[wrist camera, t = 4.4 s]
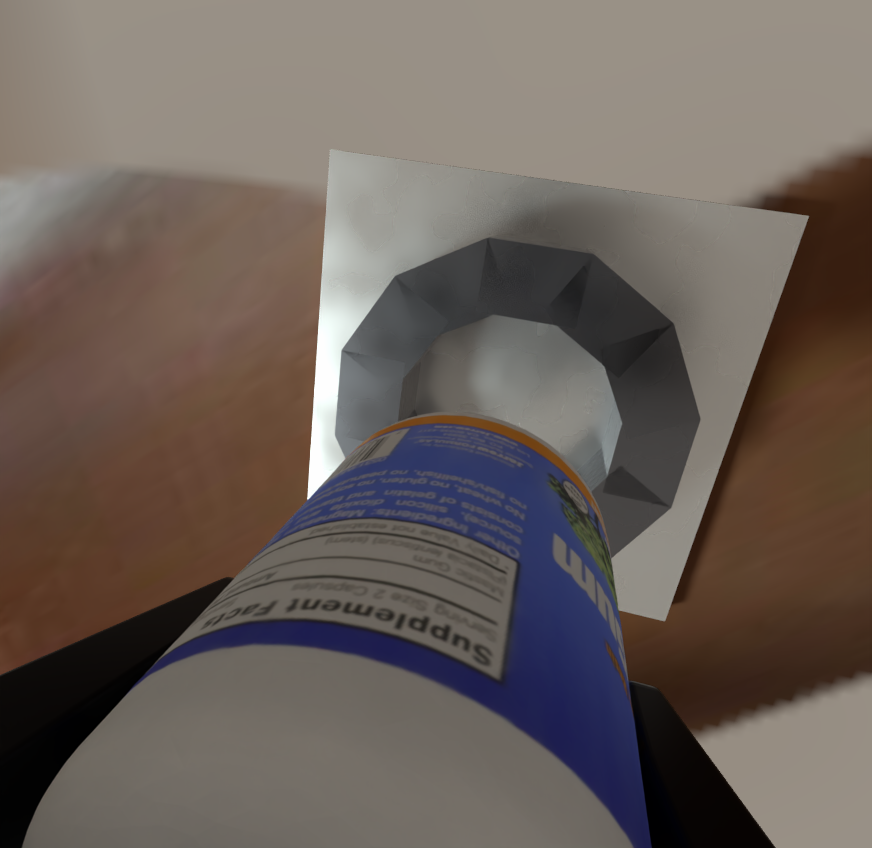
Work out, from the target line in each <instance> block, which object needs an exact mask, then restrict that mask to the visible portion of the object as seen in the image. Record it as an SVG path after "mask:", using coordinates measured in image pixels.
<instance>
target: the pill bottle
mask: <svg viewBox="0 0 872 848" xmlns="http://www.w3.org/2000/svg"><path fill="white" fill-rule="evenodd" d="M22 848H652V847H651V840H650V832H649V825H648V818H647V811H646V804H645V796H644V789H643V782H642V775H641V767H640V760H639V752H638V744H637V737H636V729H635V722H634V716H633V710H632V704H631V697H630V689H629V681H628V674H627V667H626V659H625V652H624V646H623V638H622V630H621V623H620V617H619V610H618V602H617V594H616V589H615V582H614V575H613V568H612V561H611V553H610V547H609V541H608V537H607V533H606V529H605V525H604V522H603V518H602V515H601V513H600V510H599V507H598V505H597V502H596V501H595V499H594V497H593V495H592V493H591V491H590V489H589V487H588V486H587V484H586V483H585V481H584V480H583V479H582V477H581V476H580V474H579V473H578V472H577V471H576V470H575V468H574V467H573V466H572V465H571V464H570V463H569V461H568V460H567V459H566V458H565V457H564V456H563V455H562V454H560V453H559V452H558V451H557V450H556V449H554V448H553V447H552V446H551V445H550V444H548V443H547V442H545V441H544V440H542V439H541V438H539V437H537V436H535V435H534V434H532V433H530V432H529V431H527V430H525V429H523V428H520V427H518V426H516V425H513V424H511V423H508V422H505V421H503V420H500V419H496V418H493V417H489V416H484V415H480V414H473V413H466V412H436V413H429V414H423V415H419V416H415V417H410V418H407V419H405V420H402V421H399V422H396V423H394V424H392V425H390V426H388V427H386V428H384V429H382V430H380V431H378V432H377V433H375V434H373V435H372V436H371V437H369V438H368V439H367V440H365V441H364V442H363V443H362V444H360V445H359V446H358V447H357V448H356V449H355V450H354V451H353V452H352V453H351V454H350V455H349V456H348V457H347V458H346V459H345V460H344V461H343V462H342V463H341V464H340V465H339V466H338V468H337V469H336V470H335V471H334V472H333V473H332V474H331V475H330V476H329V477H328V478H327V480H326V481H325V482H324V483H323V484H322V485H321V486H320V487H319V488H318V489H317V491H316V492H315V493H314V494H313V495H312V496H311V497H310V498H309V499H308V500H307V502H306V503H305V504H304V505H303V506H302V507H301V508H300V509H299V510H298V511H297V512H296V513H295V514H294V515H293V517H292V518H291V519H290V520H289V521H288V522H287V523H286V524H285V525H284V526H283V527H282V528H281V529H280V530H279V532H278V533H277V534H276V535H275V536H274V537H273V538H272V539H271V540H270V542H269V543H268V544H267V545H266V546H265V547H264V548H263V549H262V550H261V551H260V552H259V553H258V554H257V555H256V556H255V557H254V558H253V559H252V560H251V561H250V562H249V564H248V565H247V566H246V567H245V568H244V569H243V570H242V571H241V572H240V573H239V574H238V575H237V576H236V577H235V578H234V579H233V580H232V581H231V583H230V584H229V585H228V586H227V587H226V588H225V589H224V590H223V591H222V592H221V593H220V594H219V596H218V597H217V598H216V599H215V600H214V601H213V602H212V603H211V604H210V605H209V606H208V607H207V608H206V609H205V610H204V612H203V613H202V614H201V615H200V616H199V617H198V618H197V619H196V620H195V621H194V622H193V623H192V624H191V625H190V626H189V627H188V629H187V630H186V631H185V632H184V633H183V634H182V635H181V636H180V637H179V638H178V639H177V640H176V641H175V642H174V643H173V644H172V646H171V647H170V648H169V649H168V650H167V651H166V652H165V653H164V654H163V655H162V656H161V657H160V658H159V660H158V661H157V662H156V663H155V664H154V665H153V666H152V667H151V668H150V669H149V670H148V671H147V672H146V674H145V675H144V676H143V677H142V678H141V679H140V680H139V681H138V682H137V683H136V684H135V685H134V686H133V687H132V688H131V689H130V691H129V692H128V693H127V694H126V695H125V696H124V698H123V699H122V700H121V701H120V702H119V703H118V705H117V706H116V707H115V708H114V709H113V710H112V711H111V712H110V713H109V714H108V715H107V716H106V718H105V719H104V720H103V721H102V722H101V723H100V724H99V725H98V726H97V727H96V728H95V729H94V731H93V732H92V733H91V734H90V735H89V736H88V737H87V738H86V739H85V740H84V741H83V742H82V744H81V745H80V746H79V747H78V748H77V749H76V750H75V752H74V753H73V754H72V755H71V757H70V758H69V759H68V760H67V761H66V763H65V764H64V766H63V767H62V768H61V770H60V771H59V773H58V774H57V775H56V777H55V778H54V780H53V781H52V783H51V784H50V786H49V787H48V789H47V791H46V792H45V794H44V796H43V798H42V799H41V801H40V803H39V805H38V807H37V809H36V811H35V813H34V816H33V818H32V820H31V823H30V825H29V827H28V830H27V833H26V836H25V839H24V842H23V845H22Z"/></svg>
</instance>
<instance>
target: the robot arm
mask: <svg viewBox="0 0 872 848" xmlns="http://www.w3.org/2000/svg"><path fill="white" fill-rule="evenodd" d="M233 579H234V578H231V577H226V578H223V579H220V580H218V581H216V582H213V583H211V584H209V585H207V586H204V587H202V588H200V589H197V590H195V591H193V592H190V593H188V594H186V595H183V596H181V597H179V598H177V599H174V600H172V601H170V602H167V603H165V604H163V605H160V606H158V607H156V608H154V609H151V610H149V611H147V612H144V613H142V614H140V615H137V616H135V617H133V618H131V619H128V620H126V621H124V622H121V623H119V624H117V625H114V626H112V627H110V628H108V629H105V630H103V631H101V632H98V633H96V634H94V635H91V636H89V637H87V638H84V639H82V640H80V641H78V642H75V643H73V644H71V645H68V646H66V647H64V648H61V649H59V650H57V651H55V652H52V653H50V654H48V655H45V656H43V657H41V658H38V659H36V660H34V661H32V662H29V663H27V664H25V665H22V666H20V667H18V668H15V669H13V670H11V671H9V672H6V673H4V674H2V675H0V848H22V845H23V842H24V839H25V836H26V833H27V830H28V827H29V825H30V823H31V820H32V818H33V816H34V813H35V811H36V809H37V807H38V805H39V803H40V801H41V799H42V798H43V796H44V794H45V792H46V791H47V789H48V787H49V786H50V784H51V783H52V781H53V780H54V778H55V777H56V775H57V774H58V773H59V771H60V770H61V768H62V767H63V766H64V764H65V763H66V761H67V760H68V759H69V758H70V757H71V755H72V754H73V753H74V752H75V750H76V749H77V748H78V747H79V746H80V745H81V744H82V742H83V741H84V740H85V739H86V738H87V737H88V736H89V735H90V734H91V733H92V732H93V731H94V729H95V728H96V727H97V726H98V725H99V724H100V723H101V722H102V721H103V720H104V719H105V718H106V716H107V715H108V714H109V713H110V712H111V711H112V710H113V709H114V708H115V707H116V706H117V705H118V703H119V702H120V701H121V700H122V699H123V698H124V696H125V695H126V694H127V693H128V692H129V691H130V689H131V688H132V687H133V686H134V685H135V684H136V683H137V682H138V681H139V680H140V679H141V678H142V677H143V676H144V675H145V674H146V672H147V671H148V670H149V669H150V668H151V667H152V666H153V665H154V664H155V663H156V662H157V661H158V660H159V658H160V657H161V656H162V655H163V654H164V653H165V652H166V651H167V650H168V649H169V648H170V647H171V646H172V644H173V643H174V642H175V641H176V640H177V639H178V638H179V637H180V636H181V635H182V634H183V633H184V632H185V631H186V630H187V629H188V627H189V626H190V625H191V624H192V623H193V622H194V621H195V620H196V619H197V618H198V617H199V616H200V615H201V614H202V613H203V612H204V610H205V609H206V608H207V607H208V606H209V605H210V604H211V603H212V602H213V601H214V600H215V599H216V598H217V597H218V596H219V594H220V593H221V592H222V591H223V590H224V589H225V588H226V587H227V586H228V585H229V584H230V583H231V581H232V580H233ZM629 689H630V697H631V704H632V710H633V716H634V722H635V729H636V737H637V744H638V752H639V760H640V767H641V775H642V782H643V789H644V796H645V804H646V811H647V818H648V825H649V832H650V840H651V847H652V848H775V846H774V845H773V844H772V842H771V841H770V840H769V838H768V837H767V835H766V834H765V833H764V831H763V830H762V829H761V827H760V826H759V824H758V823H757V822H756V821H755V819H754V818H753V816H752V815H751V814H750V812H749V811H748V809H747V808H746V807H745V805H744V804H743V803H742V801H741V800H740V799H739V797H738V796H737V794H736V793H735V792H734V791H733V789H732V788H731V786H730V785H729V784H728V782H727V781H726V779H725V778H724V777H723V775H722V774H721V773H720V771H719V770H718V769H717V767H716V766H715V764H714V763H713V762H712V760H711V759H710V758H709V756H708V755H707V754H706V752H705V751H704V749H703V748H702V747H701V745H700V744H699V743H698V741H697V740H696V739H695V737H694V736H693V734H692V733H691V732H690V730H689V729H688V728H687V726H686V725H685V724H684V722H683V721H682V719H681V718H680V717H679V715H678V714H677V713H676V711H675V710H674V709H673V707H672V706H671V704H670V703H669V702H668V700H667V699H666V698H665V696H664V695H663V694H662V692H661V691H660V690H659V689H658V688H656V687H654V686H650V685H646V684H642V683H638V682H635V681H629Z"/></svg>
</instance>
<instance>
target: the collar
mask: <svg viewBox="0 0 872 848" xmlns="http://www.w3.org/2000/svg"><path fill="white" fill-rule="evenodd" d="M808 218H809V216H806V215H799V214H792V213H785V212H777V211H770V210H763V209H756V208H749V207H741V206H734V205H727V204H720V203H713V202H706V201H698V200H691V199H684V198H677V197H670V196H662V195H655V194H648V193H641V192H633V191H627V190H619V189H612V188H605V187H598V186H591V185H583V184H576V183H569V182H562V181H554V180H548V179H540V178H533V177H526V176H519V175H512V174H504V173H497V172H489V171H483V170H476V169H469V168H461V167H454V166H447V165H440V164H433V163H425V162H418V161H411V160H404V159H397V158H389V157H382V156H375V155H368V154H361V153H354V152H346V151H339V150H332V149H330V159H329V174H328V189H327V205H326V220H325V236H324V251H323V267H322V282H321V298H320V313H319V329H318V344H317V360H316V375H315V391H314V406H313V422H312V438H311V453H310V469H309V484H308V499H309V498H310V497H311V496H312V495H313V494H314V493H315V492H316V491H317V489H318V488H319V487H320V486H321V485H322V484H323V483H324V482H325V481H326V480H327V478H328V477H329V476H330V475H331V474H332V473H333V472H334V471H335V470H336V469H337V468H338V466H339V465H340V464H341V463H342V462H343V461H344V460H345V459H346V458H347V457H348V456H349V455H350V454H351V453H352V452H353V451H354V450H355V449H356V448H357V447H358V446H359V445H360V444H362V443H363V442H364V441H365V440H367V439H368V438H369V437H371V436H372V435H373V434H375V433H377V432H378V431H380V430H382V429H384V428H386V427H388V426H390V425H392V424H394V423H396V422H399V421H402V420H405V419H407V418H410V417H415V416H419V415H423V414H429V413H436V412H466V413H473V414H480V415H484V416H489V417H493V418H496V419H500V420H503V421H505V422H508V423H511V424H513V425H516V426H518V427H520V428H523V429H525V430H527V431H529V432H530V433H532V434H534V435H535V436H537V437H539V438H541V439H542V440H544V441H545V442H547V443H548V444H550V445H551V446H552V447H553V448H554V449H556V450H557V451H558V452H559V453H560V454H562V455H563V456H564V457H565V458H566V459H567V460H568V461H569V463H570V464H571V465H572V466H573V467H574V468H575V470H576V471H577V472H578V473H579V474H580V476H581V477H582V479H583V480H584V481H585V483H586V484H587V486H588V487H589V489H590V491H591V493H592V495H593V497H594V499H595V501H596V502H597V505H598V507H599V510H600V513H601V515H602V518H603V522H604V525H605V529H606V533H607V537H608V541H609V547H610V553H611V561H612V568H613V575H614V582H615V589H616V594H617V602H618V610H620V611H624V612H629V613H633V614H637V615H641V616H645V617H649V618H653V619H657V620H661V621H665V620H666V617H667V614H668V611H669V609H670V606H671V603H672V600H673V597H674V595H675V592H676V589H677V586H678V583H679V580H680V578H681V575H682V572H683V569H684V566H685V564H686V561H687V558H688V555H689V552H690V550H691V547H692V544H693V541H694V538H695V535H696V533H697V530H698V527H699V524H700V521H701V519H702V516H703V513H704V510H705V507H706V505H707V502H708V499H709V496H710V493H711V490H712V488H713V485H714V482H715V479H716V476H717V474H718V471H719V468H720V465H721V462H722V460H723V457H724V454H725V451H726V448H727V446H728V443H729V440H730V437H731V434H732V431H733V429H734V426H735V423H736V420H737V417H738V415H739V412H740V409H741V406H742V403H743V401H744V398H745V395H746V392H747V389H748V386H749V384H750V381H751V378H752V375H753V372H754V370H755V367H756V364H757V361H758V358H759V356H760V353H761V350H762V347H763V344H764V341H765V339H766V336H767V333H768V330H769V327H770V325H771V322H772V319H773V316H774V313H775V311H776V308H777V305H778V302H779V299H780V297H781V294H782V291H783V288H784V285H785V282H786V280H787V277H788V274H789V271H790V268H791V266H792V263H793V260H794V257H795V254H796V252H797V249H798V246H799V243H800V240H801V237H802V235H803V232H804V229H805V226H806V223H807V221H808Z"/></svg>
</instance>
